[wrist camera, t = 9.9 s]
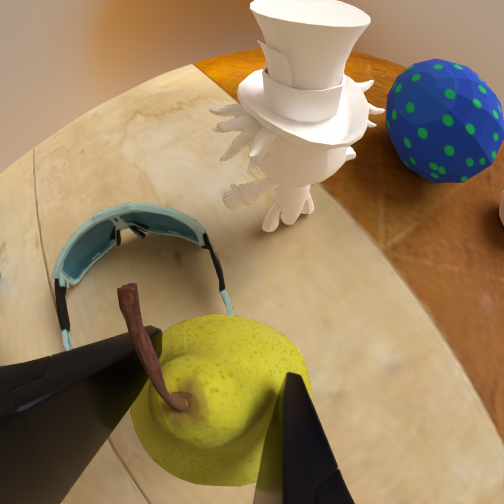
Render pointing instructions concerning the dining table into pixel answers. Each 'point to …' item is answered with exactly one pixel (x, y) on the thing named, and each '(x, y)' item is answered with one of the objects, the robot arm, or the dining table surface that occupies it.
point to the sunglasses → (108, 233)
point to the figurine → (298, 104)
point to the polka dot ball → (444, 121)
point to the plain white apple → (502, 209)
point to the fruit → (209, 393)
